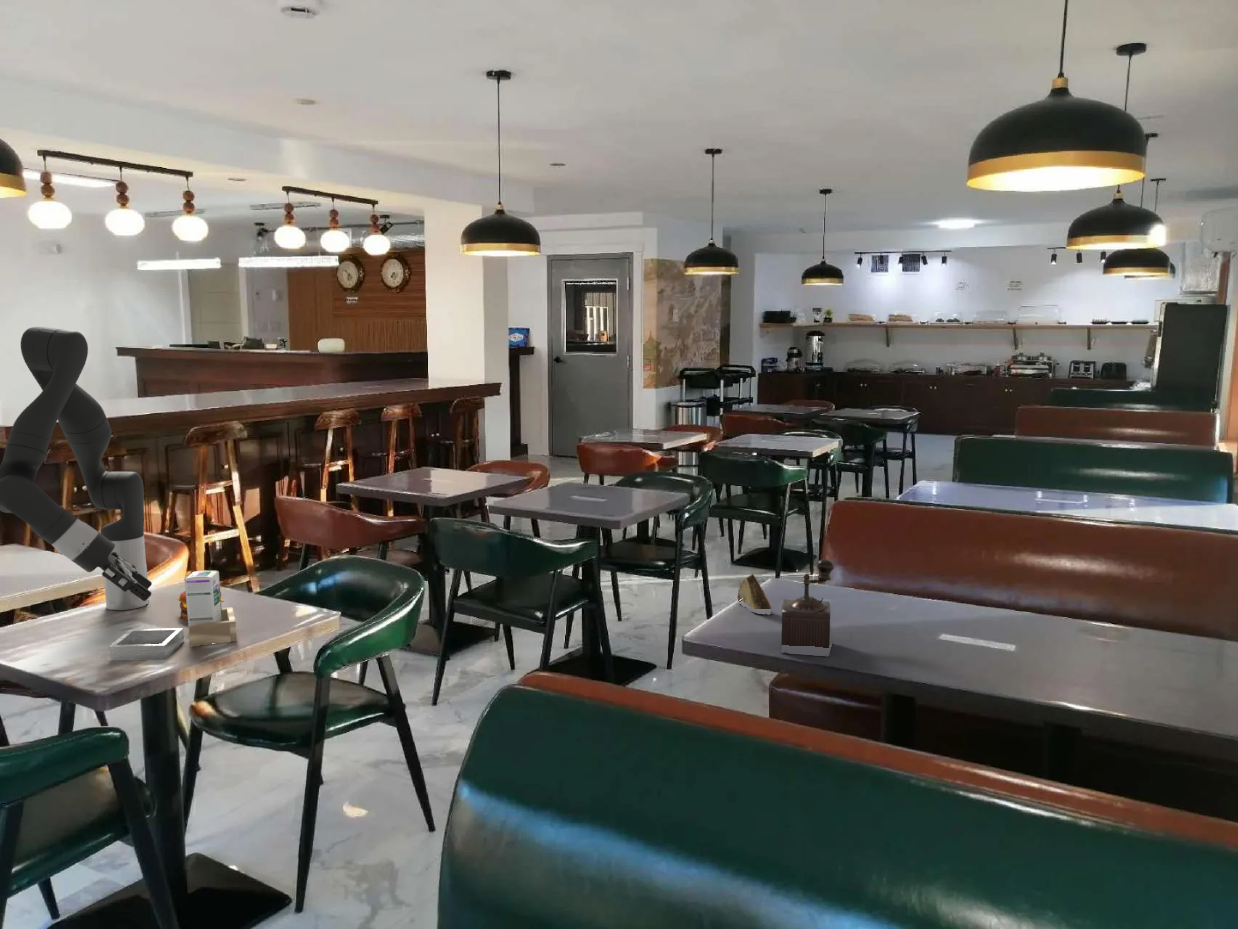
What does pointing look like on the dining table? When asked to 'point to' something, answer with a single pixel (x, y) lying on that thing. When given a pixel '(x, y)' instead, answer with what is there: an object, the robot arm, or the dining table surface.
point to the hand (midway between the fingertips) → (148, 592)
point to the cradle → (214, 630)
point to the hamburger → (184, 605)
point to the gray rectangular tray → (146, 644)
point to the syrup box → (203, 597)
